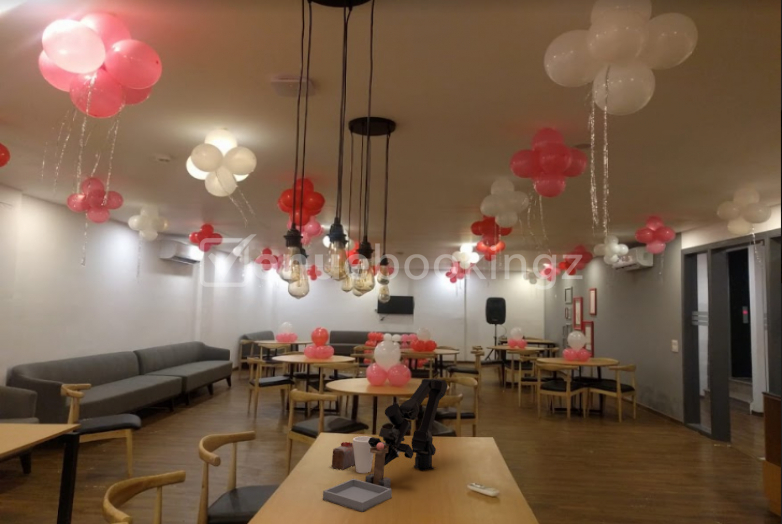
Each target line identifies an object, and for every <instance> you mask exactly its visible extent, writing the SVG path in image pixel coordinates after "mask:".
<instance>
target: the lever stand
mask: <svg viewBox="0 0 782 524" xmlns="http://www.w3.org/2000/svg"><path fill="white" fill-rule="evenodd" d="M373 477H374V473H370V474H368V475H366V476H365V482H368V483H371V484H373ZM391 480H392V479H391V477H387V476H383V478H382V479H380V480H379V486H382V487H386V488H390V489H391Z"/></svg>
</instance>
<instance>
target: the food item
mask: <svg viewBox="0 0 782 524" xmlns="http://www.w3.org/2000/svg"><path fill="white" fill-rule="evenodd" d="M331 458H332V459H331V460H332V461H331V468H333V469H337V470H340V469H341V470H340V471H342V470H344V469H346V468H348V467H350V468H351V466H352V467H353V466H354V465H355V458H354V448H353V442H350V441H349V442H347V441H345V442H344V441H342V442H341V443H340V446H338V447H335V448H333V449H332V456H331Z"/></svg>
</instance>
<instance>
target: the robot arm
mask: <svg viewBox="0 0 782 524" xmlns="http://www.w3.org/2000/svg"><path fill="white" fill-rule="evenodd" d="M447 390H448V383H447V381H446V380H445V379H438V378H422V379H421V382H420V384H419V386H418V387H417V389H416V390H415V391H414V393H413V394H411V397H410V398H409V399H407V400H405V401H403V402H402V404H400V405H399V403H397V402H393V403H392V404H391V405H389V406H388V407H386V408H385V410H384V415H385V417H386V418H387V420H388V421H389V423H390V424H391V425H392V428H383V427H380V430H379V434H378V437H374V436H370V437H371V438H370V439H369V441H368V443H369V444H370V446H371V447H376V446H377V444H378V443H383V444H384V445H387V446H389V449H388V453H385V463H384V467H385V466H387V465H388V464H389V463H390V462H392V461H394V460H395V459H396V458H399V457H400V456H399V455H400V453H404V457H405V458H407V459H413V457H414V453H415V457H414V465H413V467H414V468H416V469H418V470H419V471H422V472H423V471H429V470H434V469H435V467H433V456H435V454H436V450H437V449H436V447H435V445H434V443H433V440H434V437H433V435H432V429H433V427H434V426H433V425H434V422H435V419H436V418H435V417H436V414H437V410H438V408H439V404H440V400H441V399H443V397H444V396H445V395H446V393H447ZM427 396H428V399H427V402H426V405H425V409H424V413H423V417H422V419H421V420H422V421H421V424H420V427H419V429H418V430H416V429H415V430H414V432H413V436H412V438H411V445H410V444H408V443H403V442H405V440H406V439H405V435H406V433H407V431H408V430H412V426H411V422H409V420H411V421H414V420H416V419H417V418H418V415H419V413H420V406H421V405H422V404H423V402H424V400H425V399H426V397H427ZM379 437H381V438H382V440H383V441H382V440H381V439H380V438H379Z"/></svg>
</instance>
